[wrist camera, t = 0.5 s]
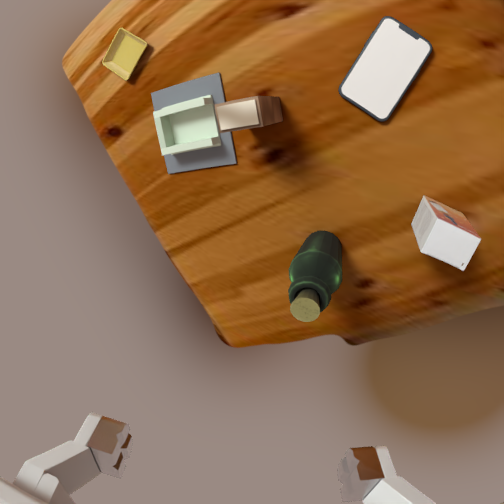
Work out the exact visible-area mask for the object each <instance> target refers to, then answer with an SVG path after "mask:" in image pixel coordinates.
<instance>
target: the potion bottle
mask: <svg viewBox="0 0 504 504" xmlns="http://www.w3.org/2000/svg"><path fill="white" fill-rule="evenodd" d="M289 278H290V280H291V282H292V283H291V285H290V288H289V290H288V292H289V300H290V303H291V306H290V309H291V313H292V315H293V316H294V317H295V318H296V319H298V320H300V321H304V322H310V321H313V320H315V319H316V318H318V316H319V314H320V312H322V311H323V310H324V309H325V308H326V307H327V306H328V304H329V302H330V300H331V294H332V293H334V292H335V291H336V290H337V289H338V288H339V286H340V284H341V282H342V251H341V243H340V241H339V239H338V238H337V237H336V236H335V235H334V234H333V233H330V232H327V231H317V232H314V233H312V234H311V235H310V236H309V237H308V238H307V239H306V240H305V242H304V243H303V245H302V246H301V248H300V250H299V251H298V253H297V254H296V256H295V257H294V259H293V260H292V262H291V265H290V268H289Z"/></svg>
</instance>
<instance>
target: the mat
mask: <svg viewBox="0 0 504 504" xmlns="http://www.w3.org/2000/svg"><path fill="white" fill-rule="evenodd" d="M207 95H212V98H213V104H214V105H215V104H219V103H224V102H225V97H224V91H223V86H222V81H221V76H220V73H216V74H212V75H208V76H205V77H201V78H198V79H194V80H191V81H187V82H184V83H181V84H178V85H174V86H171V87H168V88H165V89H162V90H159V91H156V92H154V93H151V96H152V101H153V106H154V111H158V110H161V109H162V108H164V107H167V106H171V105H174V104H177V103H181V102H184V101H188V100H192V99H196V98H199V97H203V96H207ZM214 109H215V106H214ZM215 114H216V112H215ZM216 119H217V117H216ZM217 124H218V122H217ZM218 130H219V127H218ZM219 135H220V140H221V146H216V147H210V148H204V149H199V150H194V151H188V152H183V153H178V154H173V155H171V154H166V155H164V158H165V162H166V166H167V171H168V174H170V173H176V172H182V171H188V170H195V169H201V168H208V167H215V166H222V165H229V164H236V163H237V160H236V155H235V150H234V144H233V139H232V134H231V132H225V133H220V132H219Z"/></svg>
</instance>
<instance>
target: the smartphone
mask: <svg viewBox="0 0 504 504" xmlns="http://www.w3.org/2000/svg"><path fill="white" fill-rule="evenodd" d="M431 52H432V45H431V43H430V42H429V41H428V40H426V39H425V38H423V37H422V36H421V35H419V34H418V33H416V32H415V31H413V30H412V29H410V28H409V27H407V26H406V25H404V24H402V23H401V22H399V21H398V20H396V19H395V18H393V17H390V16H386V17H383V18H382V20H381V21H380V23H379V24H378V26H377V27H376V29H375V31H373V32H372V34H371V36H370V37H369V39H368V40H367V42H366V43H365V45H364V48H363V49H362V51H361V53H360V54H359V56H358V57H357V59H356V61H355V62H354V64H353V65H352V67H351V69H350V70H349V72H348V73H347V75H346V77H345V78H344V80H343V81H342V83H341V85H340V86H339V94H340V95H341V96H342V97H343V98H345V99H346V100H348V101H349V102H351V103H352V104H354V105H355V106H357V107H359V108H360V109H362V110H363V111H365V112H366V113H368V114H369V115H370V116H372V117H373V118H375V119H376V120H378V121H381V122H384V121H386V120H388V118H389V117H390V115H391V114H392V112H393V111H394V109H395V108H396V106H397V105H398V103H399V102H400V100H401V99H402V97H403V96H404V94H405V93H406V91H407V90H408V88H409V87H410V85H411V83H412V82H413V81H414V80H415V78H416V77H417V75H418V74H419V72H420V69H421V68H422V66H423V65H424V63H425V61H426V60H427V58H428V57H429V55H430V54H431Z"/></svg>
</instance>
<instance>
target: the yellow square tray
mask: <svg viewBox="0 0 504 504" xmlns="http://www.w3.org/2000/svg"><path fill="white" fill-rule="evenodd" d="M146 47H147V42H145V41H144V40H142V39H140V38H139V37H137V36H135V35H133V34H132V33H130V32H128V31H127V30H125V29H123V28H120V29H119V30H118V32H117V34H116V35H115V37H114V39H113V41H112V43H111V45H110V47H109V49H108V51H107V53H106V55H105V57H104V59H103V61H102V64H103V65H104V66H106V67H107V68H108V69H110V70H111V71H113V72H114V73H116V74H117V75H118V76H120V77H121V78H123V79H124V80H126V81H127V80H128V79H129V78H130V76H131V74H132V72H133V71H134V69H135V67H136V65H137V63H138V61H139V60H140V58H141V56H142V54H143V53H144V51H145V49H146Z"/></svg>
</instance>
